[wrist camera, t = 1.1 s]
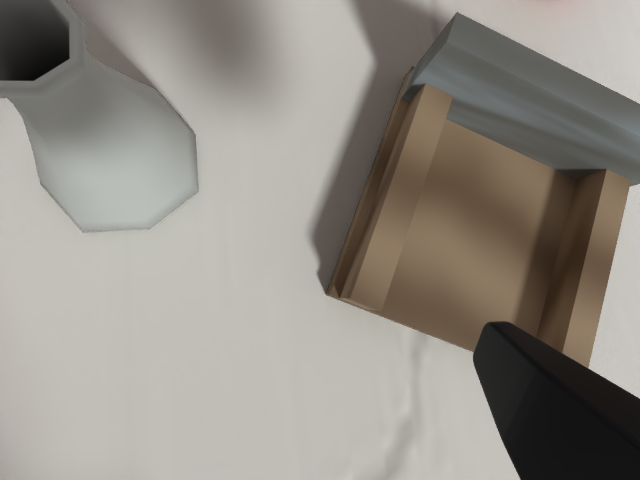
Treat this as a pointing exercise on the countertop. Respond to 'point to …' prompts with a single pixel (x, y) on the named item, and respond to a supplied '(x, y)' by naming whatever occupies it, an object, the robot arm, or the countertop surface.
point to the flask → (92, 123)
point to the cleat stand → (493, 196)
